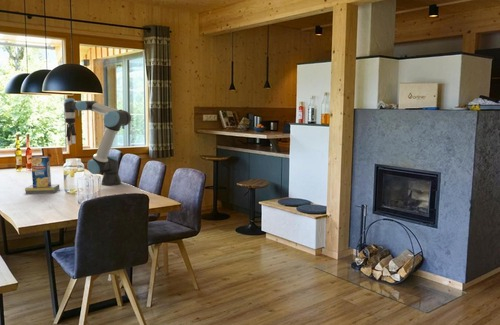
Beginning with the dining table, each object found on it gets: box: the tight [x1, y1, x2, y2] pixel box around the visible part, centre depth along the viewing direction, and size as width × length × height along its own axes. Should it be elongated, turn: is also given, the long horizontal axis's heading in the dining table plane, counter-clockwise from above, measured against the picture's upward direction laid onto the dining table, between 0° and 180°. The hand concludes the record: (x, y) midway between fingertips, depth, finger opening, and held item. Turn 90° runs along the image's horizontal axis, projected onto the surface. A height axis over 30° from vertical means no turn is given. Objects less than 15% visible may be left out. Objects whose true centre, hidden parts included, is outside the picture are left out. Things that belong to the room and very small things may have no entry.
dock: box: [24, 183, 60, 195], centre depth 333 cm, size 20×14×4 cm
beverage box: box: [30, 156, 52, 187], centre depth 332 cm, size 7×11×22 cm, turn 96°
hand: (71, 144), depth 360 cm, fingers open, 13 cm apart
